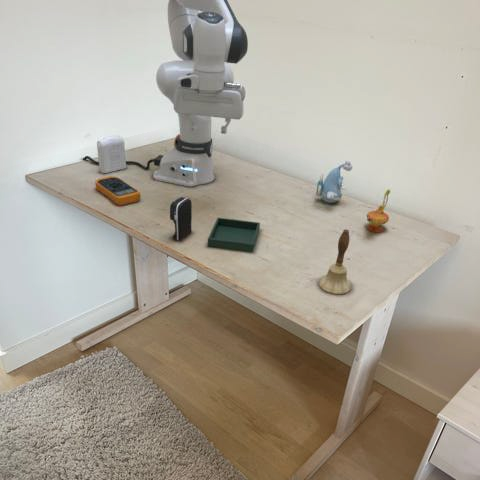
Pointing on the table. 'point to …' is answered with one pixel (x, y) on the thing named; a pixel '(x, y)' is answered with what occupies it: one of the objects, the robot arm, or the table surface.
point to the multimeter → (117, 190)
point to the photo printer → (111, 154)
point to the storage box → (234, 234)
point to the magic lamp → (378, 217)
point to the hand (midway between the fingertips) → (208, 131)
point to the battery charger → (181, 217)
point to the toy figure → (332, 184)
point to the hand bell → (337, 270)
